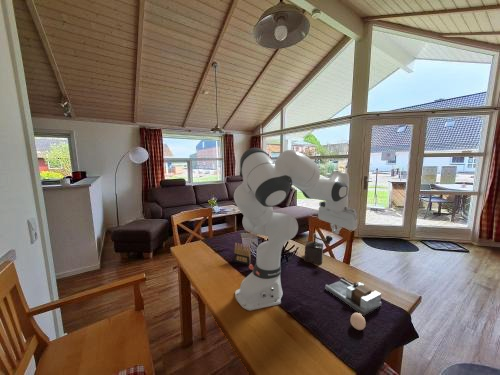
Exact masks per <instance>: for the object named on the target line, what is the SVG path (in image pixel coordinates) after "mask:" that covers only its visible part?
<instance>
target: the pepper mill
mask: <svg viewBox="0 0 500 375" xmlns="http://www.w3.org/2000/svg"><path fill="white" fill-rule="evenodd" d="M316 239H317V240H320V241H322V242H324V243H325V244H326V245H330V244H331V242H332V241H333V240H334V239H333V237H332V235H326V237H325V239H324V238H323V239H322V238H320V237H317V234H316V233H314V234H313V241H310V240H309V241H308V240H306V243H305V245H304V246H305V247H304V260H303V261H304V262H305V263H306V262H307V263H310V262H311V264H315V265H316V264H317V265H322V264H323V258H324V257H323V254H324V253H323V251H324V243H322V242H321V243H320V242H318V241H316Z"/></svg>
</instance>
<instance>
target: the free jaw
mask: <svg viewBox="0 0 500 375" xmlns="http://www.w3.org/2000/svg"><path fill="white" fill-rule="evenodd" d="M360 285H363V286H365V284H364V283H363V282H360V281H359V282H353V284H352V285H351V286H349V287H347V290H346V298H348V299H349V300H351V301H352V300H354V294H355V287H357V286H360ZM365 287H366V286H365Z"/></svg>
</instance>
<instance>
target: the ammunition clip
mask: <svg viewBox="0 0 500 375" xmlns="http://www.w3.org/2000/svg"><path fill="white" fill-rule="evenodd" d="M233 262H236V263H240V264H243V265H246V266H247V265H248V266H249V265H250V264H252V256H251V247H250V245H247V244H244V243H243V244H242V243H239V242H235V243H234V253H233Z"/></svg>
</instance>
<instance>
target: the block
mask: <svg viewBox="0 0 500 375" xmlns="http://www.w3.org/2000/svg"><path fill="white" fill-rule="evenodd" d="M371 292H372V289H370V288H368V287H367V286H363V285H360V286H357V287H355V294H354V300H355V301H356V302H358V303H359V304H360V302H361V297H363V296H365V295H367V294H369V293H371Z"/></svg>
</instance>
